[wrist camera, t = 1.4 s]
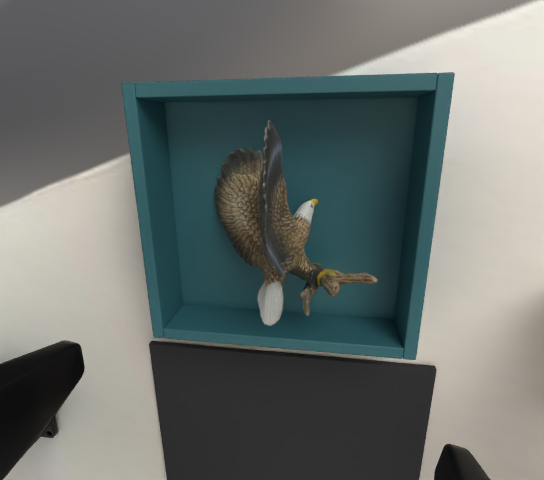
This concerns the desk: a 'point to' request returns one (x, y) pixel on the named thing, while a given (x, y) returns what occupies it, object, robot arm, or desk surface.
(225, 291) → the tray
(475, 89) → the desk surface
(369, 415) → the drying mat
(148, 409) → the desk surface
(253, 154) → the eagle figurine
